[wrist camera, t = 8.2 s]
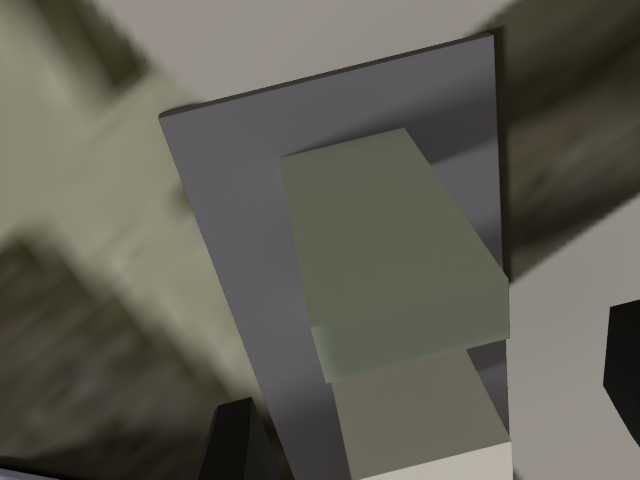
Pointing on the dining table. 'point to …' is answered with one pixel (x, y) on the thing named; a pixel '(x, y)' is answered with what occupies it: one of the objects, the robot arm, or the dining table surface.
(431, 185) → the sage domino
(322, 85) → the domino mat
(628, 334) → the robot arm
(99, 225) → the dining table surface
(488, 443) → the domino
